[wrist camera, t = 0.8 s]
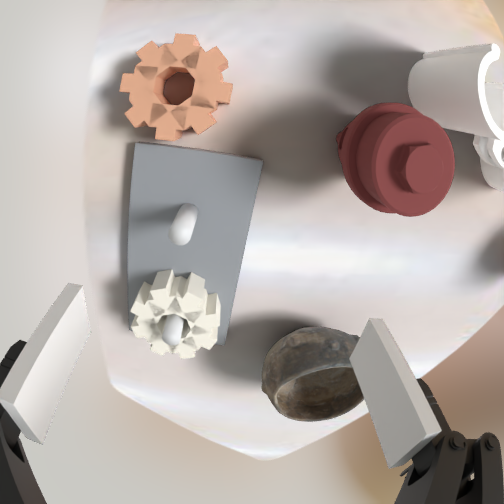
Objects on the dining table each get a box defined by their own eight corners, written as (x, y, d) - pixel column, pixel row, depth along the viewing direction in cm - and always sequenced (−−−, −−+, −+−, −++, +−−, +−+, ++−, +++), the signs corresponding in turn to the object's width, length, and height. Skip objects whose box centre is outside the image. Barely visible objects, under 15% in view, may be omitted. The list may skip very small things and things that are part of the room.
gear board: (139, 141, 29) (113, 150, 22) (261, 159, 30) (270, 173, 24) (131, 323, 39) (117, 361, 32) (224, 338, 40) (224, 379, 34)
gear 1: (143, 40, 24) (132, 32, 20) (241, 50, 25) (242, 41, 22) (126, 131, 28) (113, 135, 24) (221, 143, 29) (219, 147, 26)
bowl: (279, 296, 38) (293, 351, 29) (375, 318, 41) (403, 366, 32) (244, 368, 44) (248, 422, 35) (332, 381, 47) (347, 428, 38)
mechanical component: (382, 201, 33) (307, 173, 31) (410, 125, 29) (336, 88, 27) (441, 245, 22) (347, 209, 20) (482, 139, 18) (393, 79, 16)
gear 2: (126, 278, 34) (116, 297, 30) (207, 261, 33) (205, 280, 30) (155, 341, 38) (150, 362, 35) (228, 330, 38) (228, 352, 34)
